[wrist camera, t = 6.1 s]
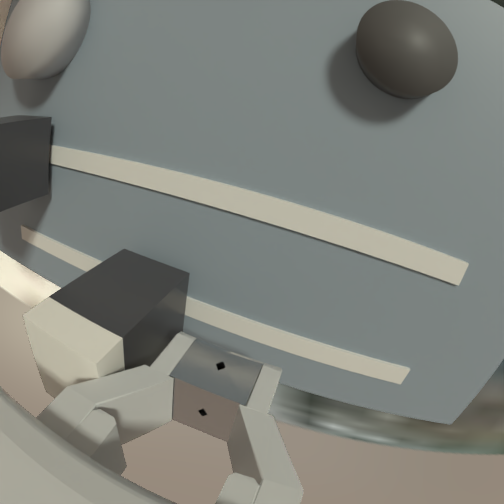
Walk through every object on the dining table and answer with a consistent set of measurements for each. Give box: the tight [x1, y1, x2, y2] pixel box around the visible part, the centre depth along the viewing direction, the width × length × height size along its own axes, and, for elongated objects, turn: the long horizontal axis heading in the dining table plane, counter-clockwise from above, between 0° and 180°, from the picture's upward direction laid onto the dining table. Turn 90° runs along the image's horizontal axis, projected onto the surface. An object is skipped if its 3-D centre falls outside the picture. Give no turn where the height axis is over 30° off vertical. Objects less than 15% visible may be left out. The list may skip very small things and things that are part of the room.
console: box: [0, 0, 504, 424], centre depth 9 cm, size 24×14×4 cm, turn 77°
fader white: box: [23, 249, 190, 398], centre depth 8 cm, size 2×3×4 cm
